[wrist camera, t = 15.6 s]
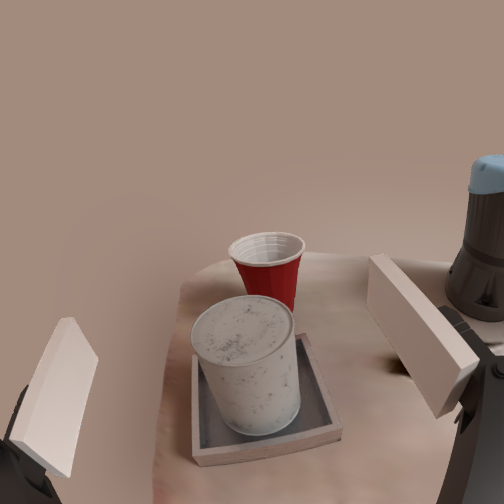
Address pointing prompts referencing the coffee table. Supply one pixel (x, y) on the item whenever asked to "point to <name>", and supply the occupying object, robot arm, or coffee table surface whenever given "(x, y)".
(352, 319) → the coffee table surface
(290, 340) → the speckled white cylinder
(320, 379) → the grey square tray
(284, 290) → the plastic cup
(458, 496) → the robot arm
